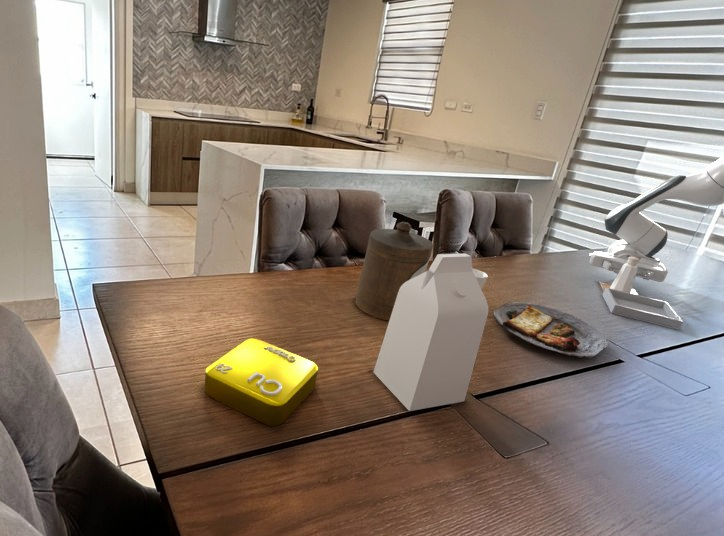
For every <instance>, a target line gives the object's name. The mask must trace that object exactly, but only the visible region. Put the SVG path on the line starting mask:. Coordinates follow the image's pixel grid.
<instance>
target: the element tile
mask: <svg viewBox="0 0 724 536" xmlns="http://www.w3.org/2000/svg"><path fill="white" fill-rule="evenodd" d="M318 370H319V366H318V365H317V364H316V363H315V362H314V361H311V360H310V359H307V358H305V357H302V356H300V355H297V354H295V353H292V352H290V351H287V350H285V349H283V348H280V347H278V346H276V345H273V344H270V343H269V342H266V341H263V340H261V339H258V338H253V337H251V338H247V339H245V340H244V341H242V342H241V343H239V344H238V345H236V346H235V347H234V348H232V349H230V351H227V353H225V354H224V355H222V356H221V357H220V358H217V360H215V361H214V362H212V363H210V364H209V365H208V366H207V367H206V369H205V374H204V392H205V395H207V396H208V397H210V398H212V399H214V400H216V401H218V402H220V403H222V404H223V405H226V406H228V407H230V408H232V409H234V410H236V411H238V412H240V413H242V414H244V415H246V416H248V417H250V418H252V419H253V420H256V421H258V422H260V423H262V424H264V425H266V426H270V427H276V426H277V427H278V426H280V425H282V424H283V423H284V422H285V421H286V420H287V419H288V418H289V417H290V416H291V414H292V413H293V412H294V411H295V410H296V409H297V408H298V407H299V406H300V405H301V403H303V402H304V401H305V400H306V398H307V397H308V396H309V395H310V394H311V393H312V392H313V391H314V389H315V388H316V382H317V377H318V372H319V371H318Z"/></svg>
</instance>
